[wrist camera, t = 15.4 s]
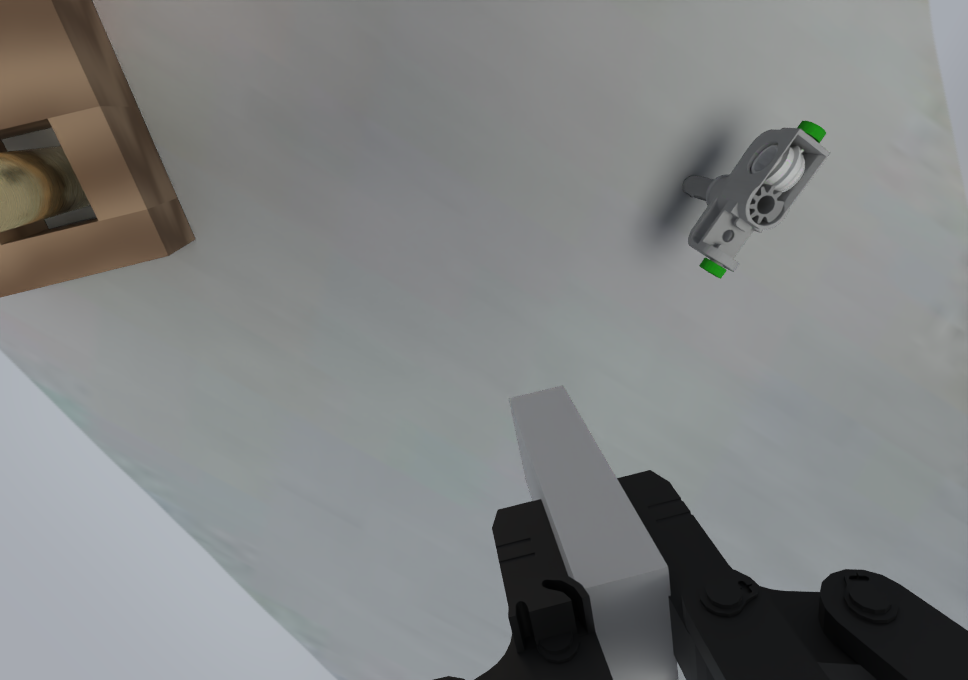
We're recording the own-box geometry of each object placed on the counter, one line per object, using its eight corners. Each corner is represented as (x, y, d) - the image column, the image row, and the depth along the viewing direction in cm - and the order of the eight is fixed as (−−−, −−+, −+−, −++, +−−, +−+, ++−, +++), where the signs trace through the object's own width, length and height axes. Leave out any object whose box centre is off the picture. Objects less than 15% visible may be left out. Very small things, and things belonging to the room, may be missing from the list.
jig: (-159, -48, 32) (-276, -81, 27) (50, -95, 32) (-23, -137, 27) (28, 280, 40) (-32, 307, 34) (195, 239, 40) (162, 259, 35)
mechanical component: (639, 233, 44) (700, 265, 35) (719, 113, 42) (807, 114, 33) (667, 251, 45) (734, 287, 36) (747, 135, 43) (841, 142, 33)
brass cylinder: (24, 154, 37) (-102, 168, 28) (84, 139, 37) (-21, 149, 28) (55, 213, 39) (-54, 246, 29) (113, 199, 39) (22, 227, 30)
